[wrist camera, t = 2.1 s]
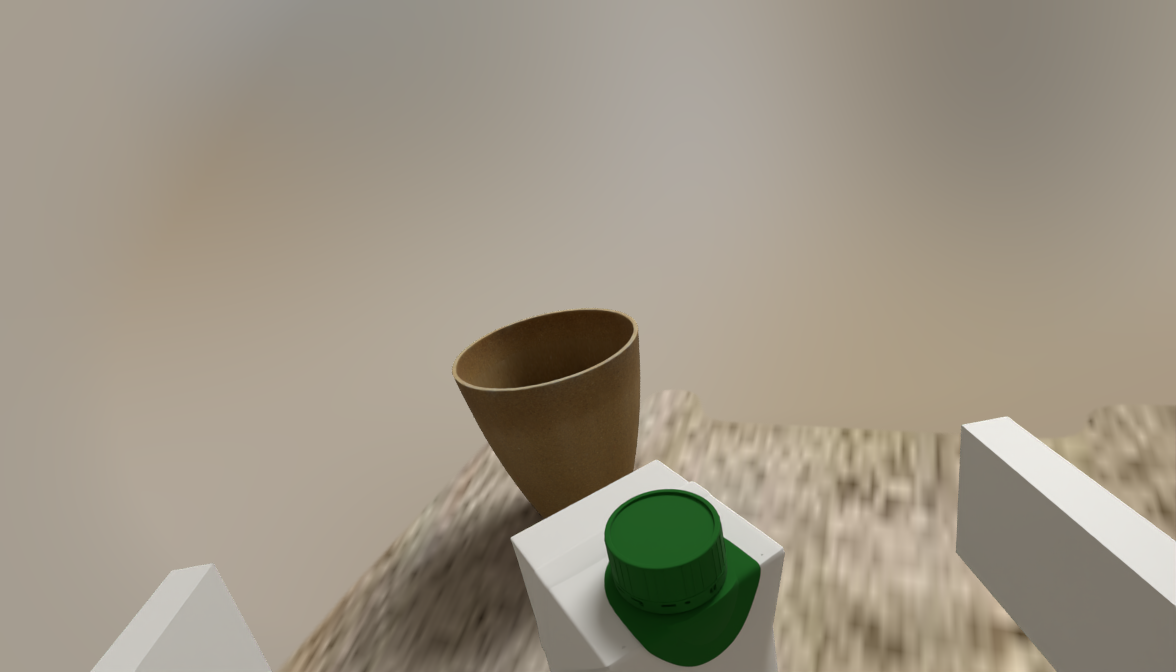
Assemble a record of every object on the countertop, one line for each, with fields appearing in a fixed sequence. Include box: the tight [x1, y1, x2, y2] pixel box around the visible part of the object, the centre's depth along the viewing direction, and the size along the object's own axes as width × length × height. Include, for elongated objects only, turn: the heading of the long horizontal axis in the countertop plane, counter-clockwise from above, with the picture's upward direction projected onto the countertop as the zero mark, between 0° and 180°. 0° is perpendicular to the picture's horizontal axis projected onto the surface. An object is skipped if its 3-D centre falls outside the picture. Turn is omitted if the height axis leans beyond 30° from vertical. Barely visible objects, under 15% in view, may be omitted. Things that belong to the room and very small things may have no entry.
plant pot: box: [452, 308, 640, 519], centre depth 52 cm, size 15×15×16 cm
